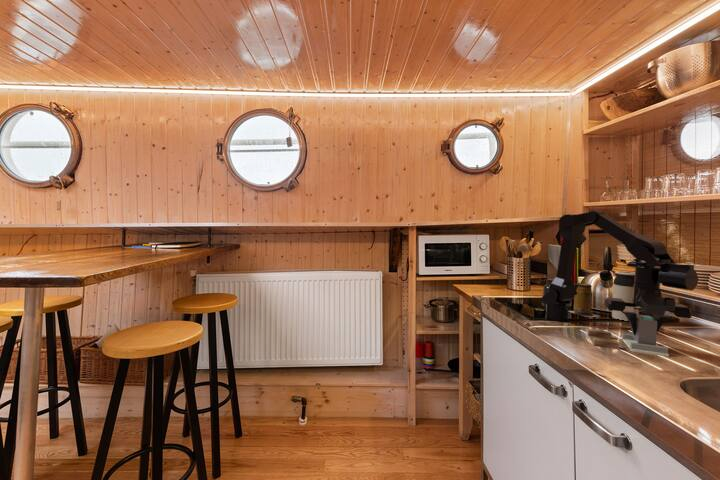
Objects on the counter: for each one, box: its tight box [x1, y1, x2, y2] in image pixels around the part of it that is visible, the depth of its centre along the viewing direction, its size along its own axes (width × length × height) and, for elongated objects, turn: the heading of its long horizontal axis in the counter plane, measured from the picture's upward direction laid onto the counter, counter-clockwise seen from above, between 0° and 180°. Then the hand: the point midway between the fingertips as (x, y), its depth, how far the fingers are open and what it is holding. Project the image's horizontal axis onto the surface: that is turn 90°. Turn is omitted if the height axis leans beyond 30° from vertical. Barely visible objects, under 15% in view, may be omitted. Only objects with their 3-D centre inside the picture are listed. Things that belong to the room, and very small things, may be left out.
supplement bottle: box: [541, 278, 555, 308], centre depth 145 cm, size 7×7×12 cm
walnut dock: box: [586, 328, 620, 350], centre depth 103 cm, size 6×12×2 cm, turn 154°
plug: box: [631, 314, 658, 346], centre depth 98 cm, size 4×6×8 cm, turn 154°
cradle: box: [620, 332, 670, 357], centre depth 98 cm, size 8×12×2 cm, turn 154°
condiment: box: [568, 282, 600, 318], centre depth 134 cm, size 7×8×12 cm
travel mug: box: [611, 270, 640, 322], centre depth 127 cm, size 8×8×18 cm
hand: (643, 335), depth 98 cm, fingers closed on plug, 4 cm apart
